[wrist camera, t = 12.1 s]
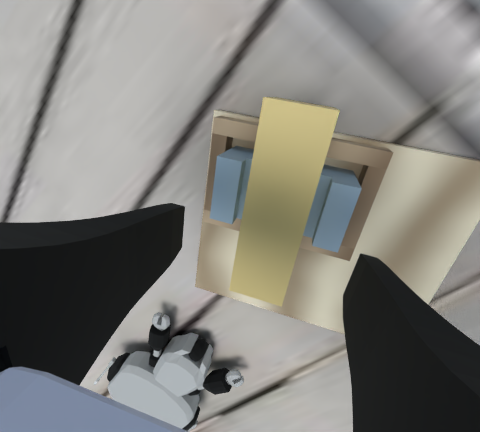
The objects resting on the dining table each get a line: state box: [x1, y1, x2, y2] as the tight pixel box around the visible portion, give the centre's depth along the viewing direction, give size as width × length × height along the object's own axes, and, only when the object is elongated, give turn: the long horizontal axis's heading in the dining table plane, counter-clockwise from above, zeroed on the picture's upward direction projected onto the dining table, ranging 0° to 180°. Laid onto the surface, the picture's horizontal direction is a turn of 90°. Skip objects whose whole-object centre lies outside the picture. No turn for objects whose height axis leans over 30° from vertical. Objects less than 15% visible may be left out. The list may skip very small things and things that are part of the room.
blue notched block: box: [210, 146, 362, 253], centre depth 17 cm, size 8×4×4 cm, turn 80°
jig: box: [195, 110, 480, 334], centre depth 20 cm, size 18×16×2 cm
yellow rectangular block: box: [229, 97, 340, 307], centre depth 14 cm, size 10×3×4 cm, turn 170°
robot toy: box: [94, 313, 244, 432], centre depth 30 cm, size 12×4×15 cm
